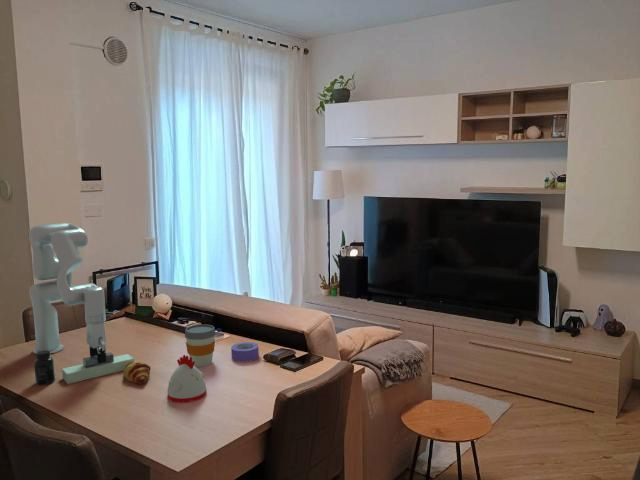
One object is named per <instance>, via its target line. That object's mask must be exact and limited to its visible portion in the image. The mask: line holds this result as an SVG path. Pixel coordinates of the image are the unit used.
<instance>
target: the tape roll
mask: <svg viewBox="0 0 640 480" xmlns="http://www.w3.org/2000/svg"><path fill="white" fill-rule="evenodd" d="M230 348H231V349H230V350H231V360H233V361H235V362H240V363H241V362H242V363H244V362H245V363H247V362H252V361H256V360H257V359H258V358H259V355H260V353H259V344H258V343H255V342H252V341H251V342H250V341H248V342H247V341H245V342H238V343H237V342H236V343H235V344H233V345H231V347H230Z"/></svg>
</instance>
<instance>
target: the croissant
mask: <svg viewBox="0 0 640 480" xmlns="http://www.w3.org/2000/svg"><path fill="white" fill-rule="evenodd" d="M150 374H151V366H150V365H149V364H148V363H146V362H144V361H134V362H130V363H128V364H127V365H126V366H125V369H124V370H123V374H122V377H123V378H125V379H126V380H127V381H128V382H132V383H135V384H140V385H141V384H144V383H146V382H147V381H148V379H149V377H150Z"/></svg>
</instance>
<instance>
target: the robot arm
mask: <svg viewBox="0 0 640 480" xmlns="http://www.w3.org/2000/svg"><path fill="white" fill-rule="evenodd" d="M88 237H89V236H88V234H87V232H86V231H85V230H83V229H82V228H81V227H79V226H77V225H75V224H73V223H71V222H62V223H61V222H60V223H49V224H39V225H35V226H33V227H31V228H30V229H29V232H28V240H29V243H30V246H31V250H32V274H33V276H34V277H33V278H34V279H36V280H37V281H41V282H37V283H34V284H32V285H31V286H30V288H29V298H30V301H31V302H30V303H31V304H32V312H33V321H34V322H33V323H34V334H35V345H36V347H34V348H33V349H32V353H33V354H35V355H36V353H37V352H39V351H45V350H48V351H50V355H51V354H56V353H58V352H61V351H62V350H63V349H64V347H65V346H64V344H62V343H60V332H59V319H58V311H57V309H56V308H55V307H54V306H53V305H52V303H53V302H59V301H62V302H63V303H64V304H65V305H67V306H71V307H72V306H78V305H82V304H84V320H85V324H86V344H87V345H88V346H89V347H88V348H89V357H91V356H96V355H97V360H98V363H103V362H106V353H107V349H106V344H107V339H106V338H107V337H106V336H107V335H106V328H105V322H106V320H107V319H106V318H107V317H106V303H105V300H106V299H105V290H104V288H103V287H101V286H98V285H96V284H95V283H92V282H91V283H85V284H84V283H83V284H80V285H79V284H78V285H73V271H75V270H76V269H78V268H79V267H80V266H81V265H83V258H82V256H81V254H80V251H79V249H84V248H86V247H87V246H88V244H89V238H88ZM55 255H56V257H55Z"/></svg>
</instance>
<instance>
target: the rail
mask: <svg viewBox="0 0 640 480" xmlns="http://www.w3.org/2000/svg"><path fill="white" fill-rule="evenodd" d="M113 357H114V362H110V363H106V364H100V365H96V366H93V367H88V368H85V367H84V366H83V363H82V364H78V365H77V364H76V365H73V366H70V367H69V366H68V367H64V368H62V370H61V371H62V372H61V373H62V379H63V381H64V382H65V383H66V384H68V385H69V384H73V383H76V382H81V381H85V380H90V379H94V378H98V377H101V376H105V375H111V374H114V373H118V372H121V371H123V372H124V369H125V366H126V365H127V364H128V363H130V362H135V359H134V358H135V357H133V356H132V355H130V354H128V353H126V354H122V355H117V356H113Z"/></svg>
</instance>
